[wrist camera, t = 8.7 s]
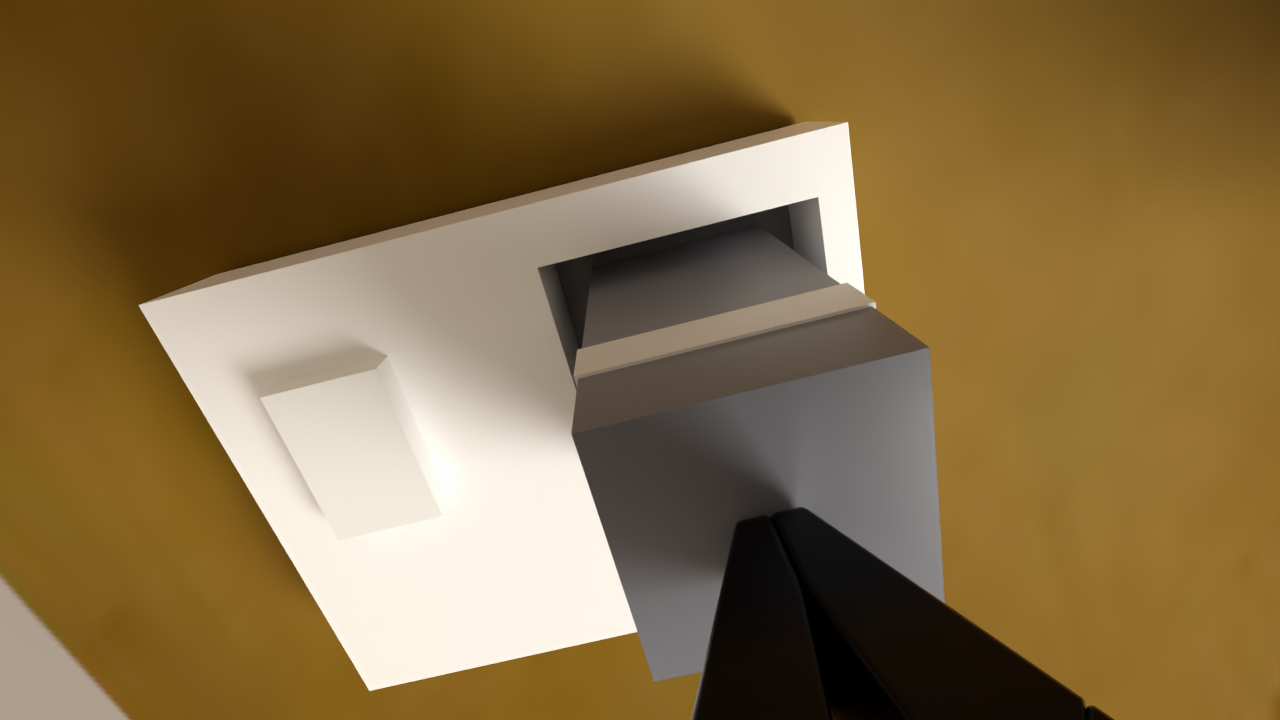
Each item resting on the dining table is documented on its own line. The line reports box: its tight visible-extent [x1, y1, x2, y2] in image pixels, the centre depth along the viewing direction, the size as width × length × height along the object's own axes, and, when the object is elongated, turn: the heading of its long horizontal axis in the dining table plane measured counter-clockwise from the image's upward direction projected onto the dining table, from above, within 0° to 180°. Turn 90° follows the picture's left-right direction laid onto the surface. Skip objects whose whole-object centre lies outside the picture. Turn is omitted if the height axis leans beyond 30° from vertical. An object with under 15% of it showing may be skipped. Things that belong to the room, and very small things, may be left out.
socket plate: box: [139, 122, 865, 691], centre depth 14 cm, size 14×11×3 cm
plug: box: [571, 225, 945, 682], centre depth 11 cm, size 4×4×8 cm
